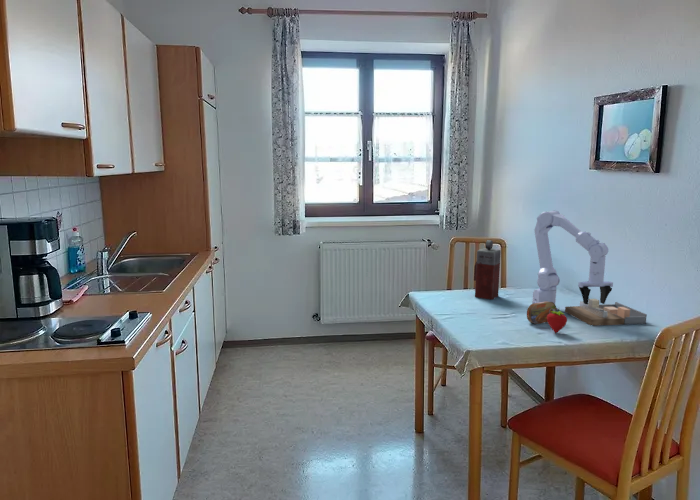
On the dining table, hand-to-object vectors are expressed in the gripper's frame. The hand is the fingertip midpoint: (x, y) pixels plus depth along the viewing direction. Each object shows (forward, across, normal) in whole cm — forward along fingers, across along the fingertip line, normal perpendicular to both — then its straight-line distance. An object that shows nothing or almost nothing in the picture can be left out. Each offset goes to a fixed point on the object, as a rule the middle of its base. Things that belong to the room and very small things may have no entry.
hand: (594, 303), depth 226 cm
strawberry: (+7, -26, -17) cm, 32 cm away
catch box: (+6, +12, 0) cm, 14 cm away
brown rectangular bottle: (+7, -32, +41) cm, 52 cm away
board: (+6, 0, 0) cm, 6 cm away
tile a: (+4, +10, -4) cm, 11 cm away
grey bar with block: (+4, 0, 0) cm, 4 cm away
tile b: (+6, +11, +4) cm, 13 cm away
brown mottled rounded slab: (+7, -25, -3) cm, 26 cm away
